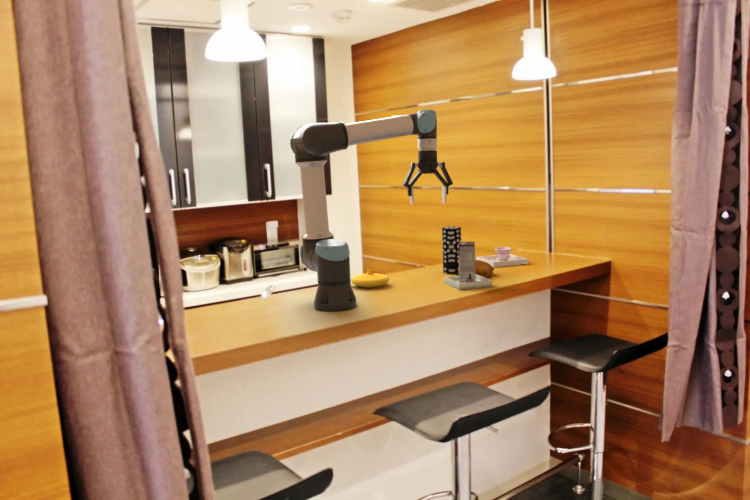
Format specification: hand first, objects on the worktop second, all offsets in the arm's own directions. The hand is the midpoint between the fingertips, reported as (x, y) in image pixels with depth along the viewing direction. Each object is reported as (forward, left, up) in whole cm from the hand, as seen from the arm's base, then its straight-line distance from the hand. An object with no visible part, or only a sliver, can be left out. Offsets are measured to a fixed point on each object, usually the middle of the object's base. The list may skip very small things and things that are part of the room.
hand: (428, 203), depth 248 cm
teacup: (+49, +31, -32) cm, 66 cm away
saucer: (+48, +30, -33) cm, 65 cm away
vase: (-23, +8, -33) cm, 41 cm away
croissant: (+24, +8, -33) cm, 42 cm away
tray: (+13, -8, -33) cm, 36 cm away
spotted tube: (+18, +19, -33) cm, 42 cm away
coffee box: (+13, -8, -32) cm, 35 cm away
